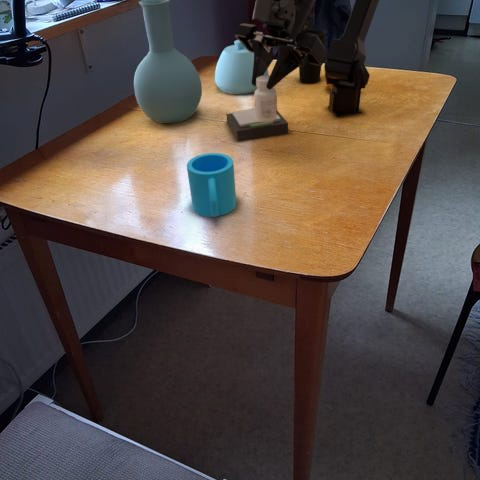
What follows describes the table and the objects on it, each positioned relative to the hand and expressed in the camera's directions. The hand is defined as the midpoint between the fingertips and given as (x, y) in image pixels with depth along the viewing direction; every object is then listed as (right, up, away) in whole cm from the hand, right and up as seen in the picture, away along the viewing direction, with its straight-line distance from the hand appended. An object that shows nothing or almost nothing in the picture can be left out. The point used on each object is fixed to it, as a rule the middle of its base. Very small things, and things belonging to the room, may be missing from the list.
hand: (260, 86), depth 93 cm
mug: (-9, -25, -5) cm, 27 cm away
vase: (-21, +7, +30) cm, 37 cm away
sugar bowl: (-3, +21, +43) cm, 48 cm away
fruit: (+23, +17, +37) cm, 47 cm away
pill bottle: (+1, -4, +5) cm, 7 cm away
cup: (+16, +23, +43) cm, 51 cm away
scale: (0, 0, +21) cm, 21 cm away
